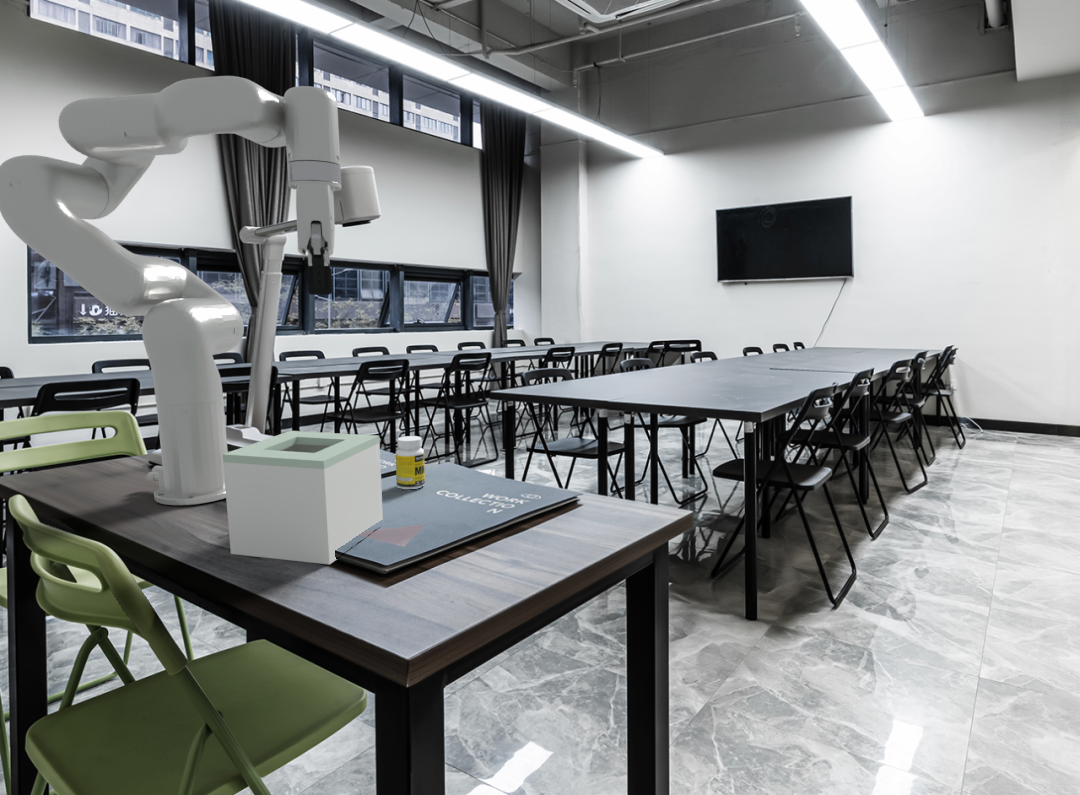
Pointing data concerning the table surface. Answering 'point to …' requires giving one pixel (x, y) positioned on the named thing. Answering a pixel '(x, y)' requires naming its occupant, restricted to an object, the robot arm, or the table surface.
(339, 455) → the box
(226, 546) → the table surface
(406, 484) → the supplement bottle
